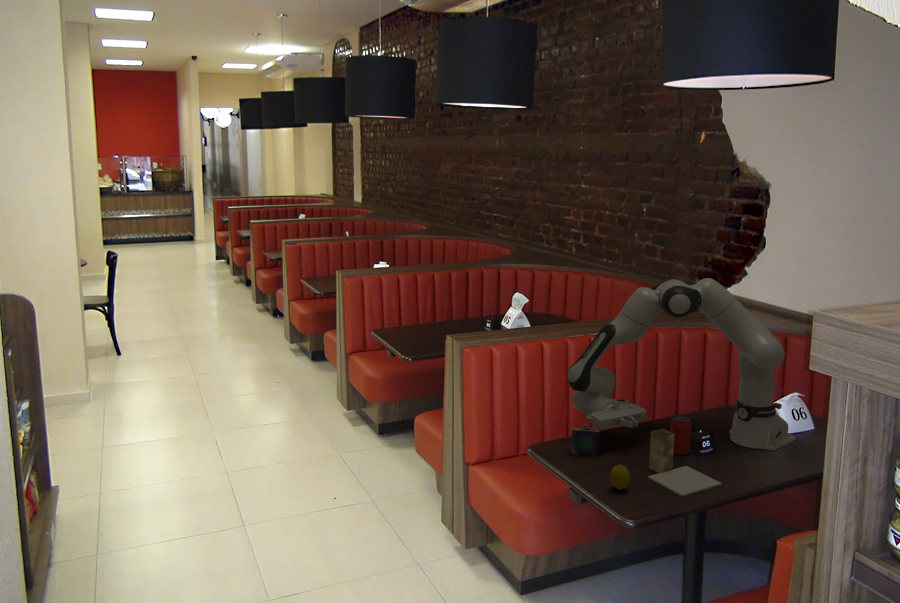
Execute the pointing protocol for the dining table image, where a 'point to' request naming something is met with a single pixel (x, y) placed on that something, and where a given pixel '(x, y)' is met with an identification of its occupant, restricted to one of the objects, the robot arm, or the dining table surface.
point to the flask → (585, 442)
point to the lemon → (619, 477)
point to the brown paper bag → (661, 450)
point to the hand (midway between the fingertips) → (634, 425)
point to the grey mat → (684, 481)
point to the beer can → (681, 434)
